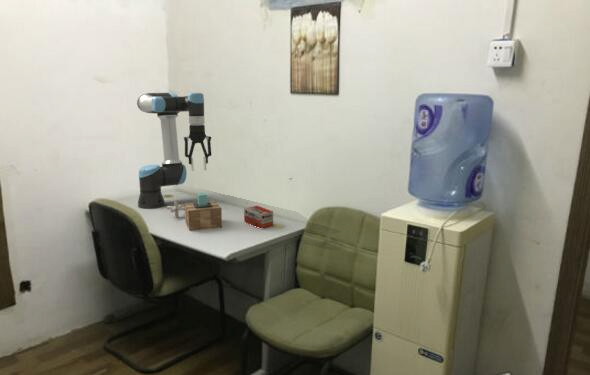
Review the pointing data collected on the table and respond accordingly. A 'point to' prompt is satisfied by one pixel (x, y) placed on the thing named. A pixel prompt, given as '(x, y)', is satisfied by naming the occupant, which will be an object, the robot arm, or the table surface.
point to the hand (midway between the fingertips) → (198, 170)
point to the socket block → (203, 217)
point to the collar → (202, 206)
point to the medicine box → (258, 216)
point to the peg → (202, 199)
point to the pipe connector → (176, 208)
